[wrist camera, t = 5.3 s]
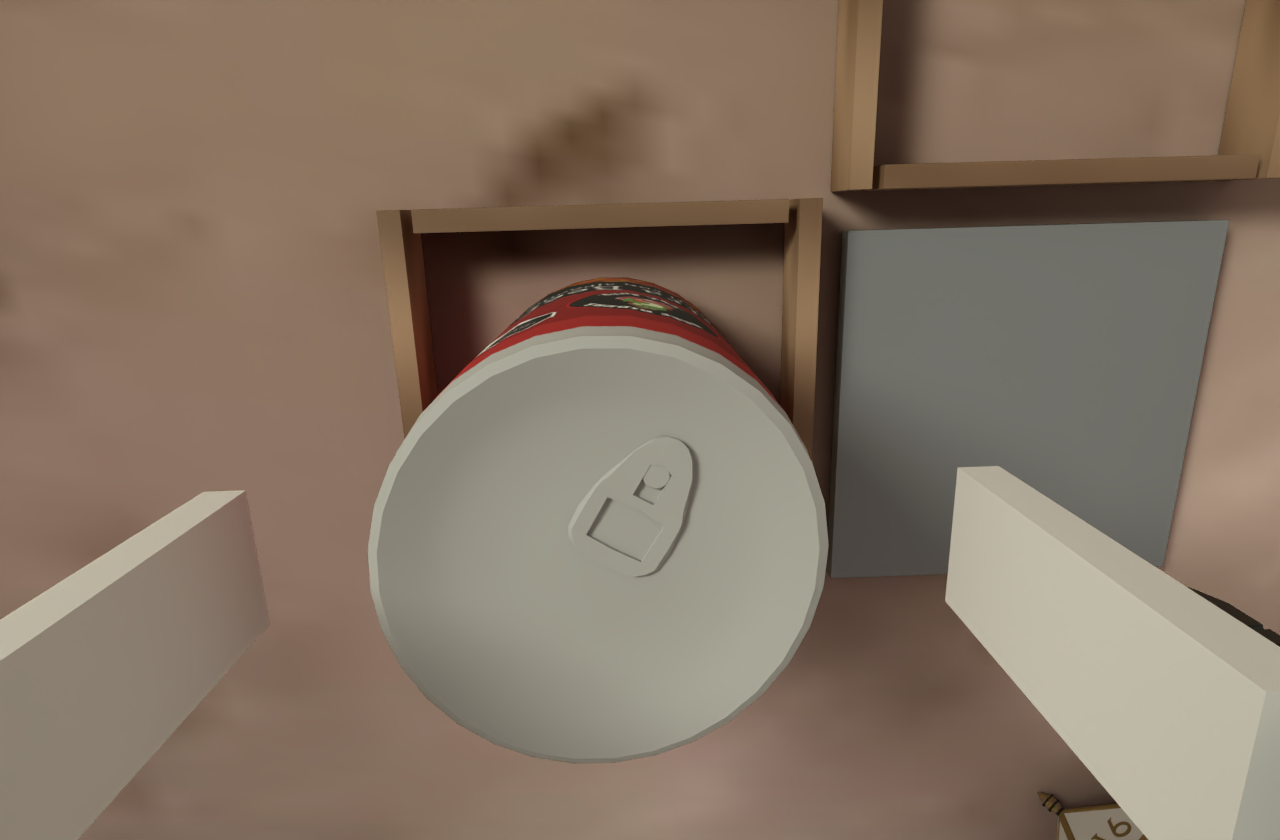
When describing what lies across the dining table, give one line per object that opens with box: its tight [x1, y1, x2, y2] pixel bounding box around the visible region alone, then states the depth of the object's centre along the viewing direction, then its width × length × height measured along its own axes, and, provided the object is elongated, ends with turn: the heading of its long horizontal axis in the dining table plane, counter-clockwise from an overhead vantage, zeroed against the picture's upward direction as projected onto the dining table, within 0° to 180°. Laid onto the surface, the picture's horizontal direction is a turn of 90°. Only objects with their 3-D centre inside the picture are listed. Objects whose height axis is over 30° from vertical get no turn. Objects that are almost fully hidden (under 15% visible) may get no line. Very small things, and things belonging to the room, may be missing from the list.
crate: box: [377, 198, 823, 461], centre depth 21 cm, size 12×12×2 cm
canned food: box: [368, 278, 829, 763], centre depth 17 cm, size 8×8×11 cm
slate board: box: [826, 220, 1229, 578], centre depth 22 cm, size 11×11×1 cm
